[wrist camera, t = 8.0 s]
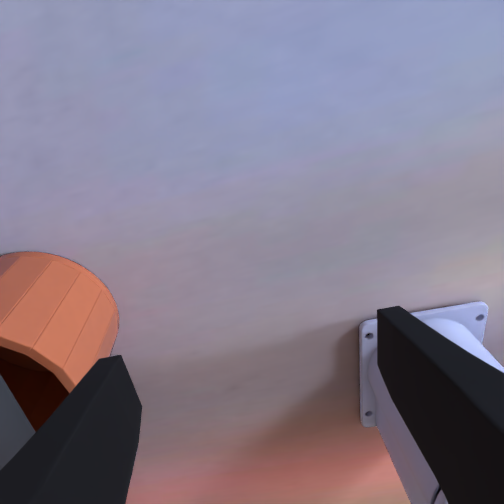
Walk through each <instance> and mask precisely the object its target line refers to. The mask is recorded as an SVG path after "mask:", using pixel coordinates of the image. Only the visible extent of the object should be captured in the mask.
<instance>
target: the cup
mask: <svg viewBox="0 0 504 504" xmlns="http://www.w3.org/2000/svg"><path fill="white" fill-rule="evenodd" d="M118 329H119V313H118V309H117V306H116V303H115V301H114V299H113V296H112V295H111V293H110V292H109V290H108V289H107V287H106V286H105V285H104V284H103V283H102V282H101V281H100V280H99V279H98V278H97V277H96V276H95V275H94V274H93V273H91V272H90V271H89V270H87V269H86V268H84V267H82V266H81V265H79V264H77V263H75V262H73V261H71V260H68V259H66V258H63V257H60V256H57V255H53V254H48V253H42V252H16V253H10V254H6V255H2V256H0V374H1V376H2V378H3V379H4V381H5V382H6V384H7V386H8V387H9V389H10V391H11V392H12V394H13V396H14V397H15V399H16V401H17V402H18V404H19V405H20V407H21V409H22V410H23V412H24V414H25V415H26V417H27V419H28V420H29V422H30V424H31V425H32V427H33V428H34V430H35V432H37V431H38V430H39V428H40V427H41V426H42V425H43V424H44V423H45V422H46V421H47V419H48V418H49V417H50V416H51V415H52V414H53V412H54V411H55V410H56V409H57V408H58V407H59V405H60V404H61V403H62V402H63V401H64V400H65V398H66V397H67V396H68V395H69V394H70V392H71V391H72V390H73V389H74V388H75V386H76V385H77V384H78V383H79V382H80V380H81V379H82V378H83V377H84V376H85V374H86V373H87V372H88V371H89V370H90V369H91V367H92V366H93V365H94V364H95V363H96V362H97V361H98V360H99V359H100V358H106V357H110V355H111V352H112V349H113V346H114V343H115V340H116V337H117V334H118Z"/></svg>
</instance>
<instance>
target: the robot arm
mask: <svg viewBox="0 0 504 504" xmlns="http://www.w3.org/2000/svg"><path fill="white" fill-rule="evenodd" d="M487 314H488V306H487V305H486V304H485V303H484V302H481V301H478V302H472V303H467V304H461V305H455V306H449V307H443V308H437V309H431V310H425V311H419V312H413V313H409V312H408V311H406V310H405V309H403V308H401V307H400V306H395V307H389V308H384V309H378V310H377V319H372V320H366V321H364V322H362V323H361V324H360V327H359V352H360V421H361V423H362V426H364V427H374V426H377V428H378V430H379V432H380V435H381V437H382V439H383V441H384V444H385V446H386V448H387V450H388V453H389V455H390V457H391V459H392V462H393V464H394V466H395V469H396V471H397V473H398V475H399V478H400V480H401V482H402V484H403V487H404V489H405V491H406V494H407V496H408V498H409V500H410V502H411V504H504V368H503V367H502V366H501V365H500V363H499V362H498V361H497V360H496V359H495V358H494V357H493V356H492V355H491V354H490V353H489V352H488V351H487V350H486V348H485V347H484V346H483V345H482V342H483V336H484V331H485V325H486V319H487ZM478 315H479V316H478ZM477 316H478V317H477ZM368 333H370V334H369V335H368V336H365V335H366V334H368ZM141 412H142V405H141V403H140V400H139V398H138V395H137V393H136V390H135V388H134V385H133V383H132V381H131V378H130V376H129V373H128V371H127V368H126V366H125V364H124V361H123V359H122V356H121V355H117V356H111V357H106V358H100V359H99V360H98V361H97V362H96V363H95V364H94V365H93V366H92V367H91V369H90V370H89V371H88V372H87V373H86V374H85V376H84V377H83V378H82V379H81V380H80V382H79V383H78V384H77V385H76V386H75V388H74V389H73V390H72V391H71V392H70V394H69V395H68V396H67V397H66V398H65V400H64V401H63V402H62V403H61V404H60V405H59V407H58V408H57V409H56V410H55V411H54V412H53V414H52V415H51V416H50V417H49V418H48V419H47V421H46V422H45V423H44V424H43V425H42V426H41V427H40V428H39V430H38V431H37V432H36V433H35V434H34V435H33V436H32V437H31V438H30V439H29V440H28V441H27V443H26V444H25V445H24V446H23V447H22V448H21V449H20V450H19V451H18V452H17V453H16V455H15V456H14V457H13V458H12V459H11V460H10V461H9V462H8V463H7V464H6V465H5V466H4V467H3V468H2V469H1V470H0V504H125V502H126V497H127V493H128V488H129V484H130V480H131V475H132V471H133V466H134V461H135V457H136V452H137V448H138V443H139V434H140V424H141Z"/></svg>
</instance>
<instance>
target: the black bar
mask: <svg viewBox="0 0 504 504" xmlns="http://www.w3.org/2000/svg"><path fill="white" fill-rule="evenodd" d="M35 433H36V432H35V430H34V428H33V427H32V425H31V424H30V422H29V420H28V419H27V417H26V415H25V414H24V412H23V410H22V409H21V407H20V405H19V404H18V402H17V401H16V399H15V397H14V396H13V394H12V392H11V391H10V389H9V387H8V386H7V384H6V382H5V381H4V379H3V378H2V376H1V374H0V470H1V469H2V468H3V467H4V466H5V465H6V464H7V463H8V462H9V461H10V460H11V459H12V458H13V457H14V456H15V455H16V453H17V452H18V451H19V450H20V449H21V448H22V447H23V446H24V445H25V444H26V443H27V441H28V440H29V439H30V438H31V437H32V436H33V435H34V434H35Z"/></svg>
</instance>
